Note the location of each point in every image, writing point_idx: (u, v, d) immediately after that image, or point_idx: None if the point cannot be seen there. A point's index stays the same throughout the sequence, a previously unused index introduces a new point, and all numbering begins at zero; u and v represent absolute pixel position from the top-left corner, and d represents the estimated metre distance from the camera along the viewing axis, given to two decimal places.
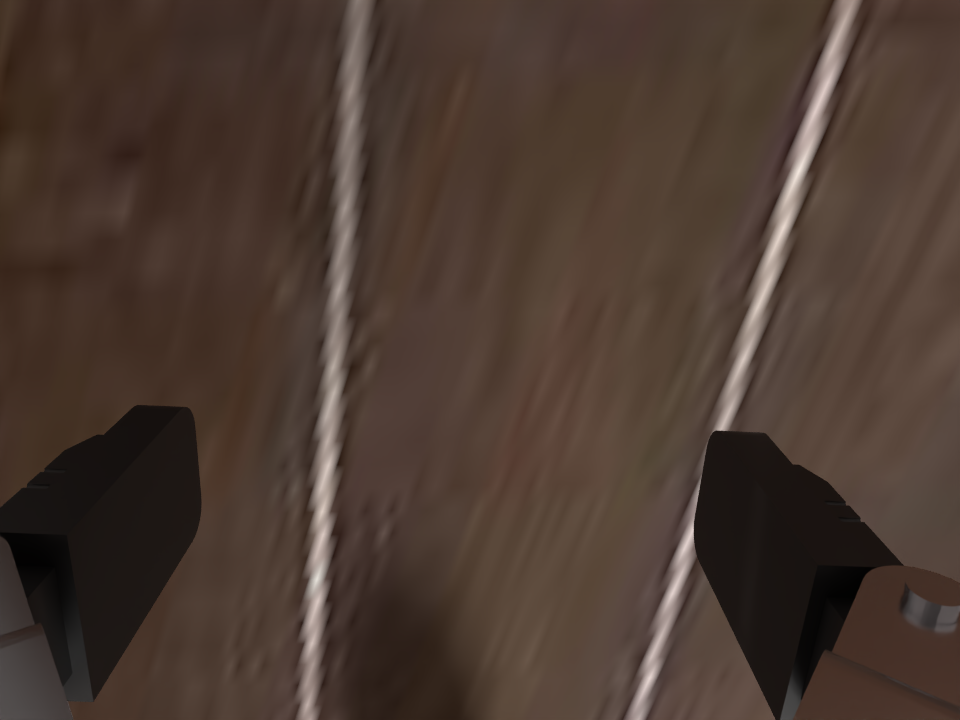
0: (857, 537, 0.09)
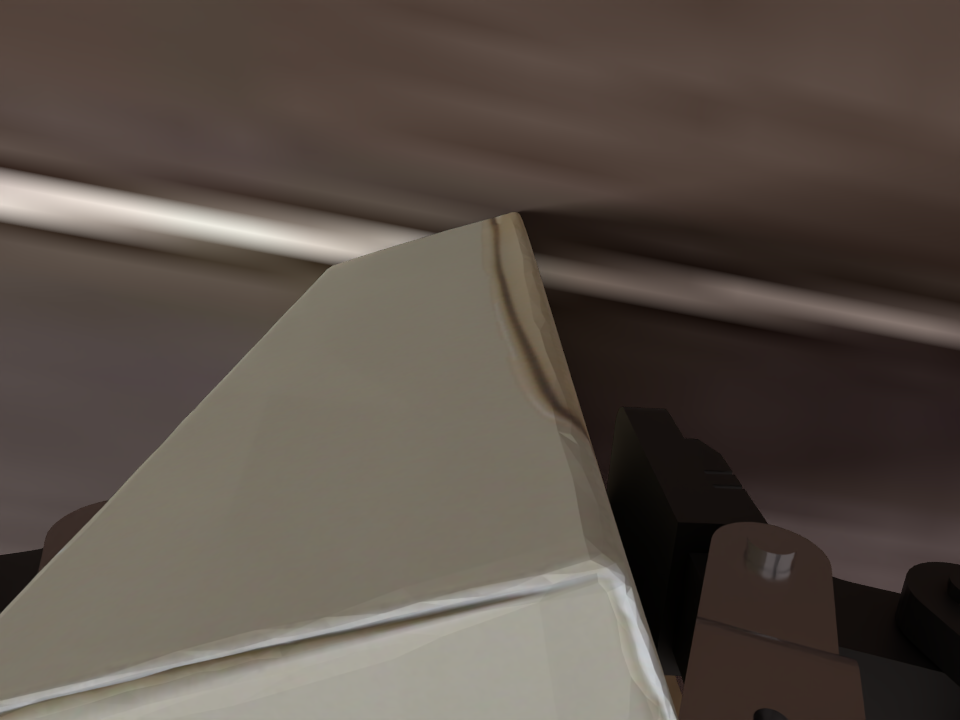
0: (733, 502, 0.10)
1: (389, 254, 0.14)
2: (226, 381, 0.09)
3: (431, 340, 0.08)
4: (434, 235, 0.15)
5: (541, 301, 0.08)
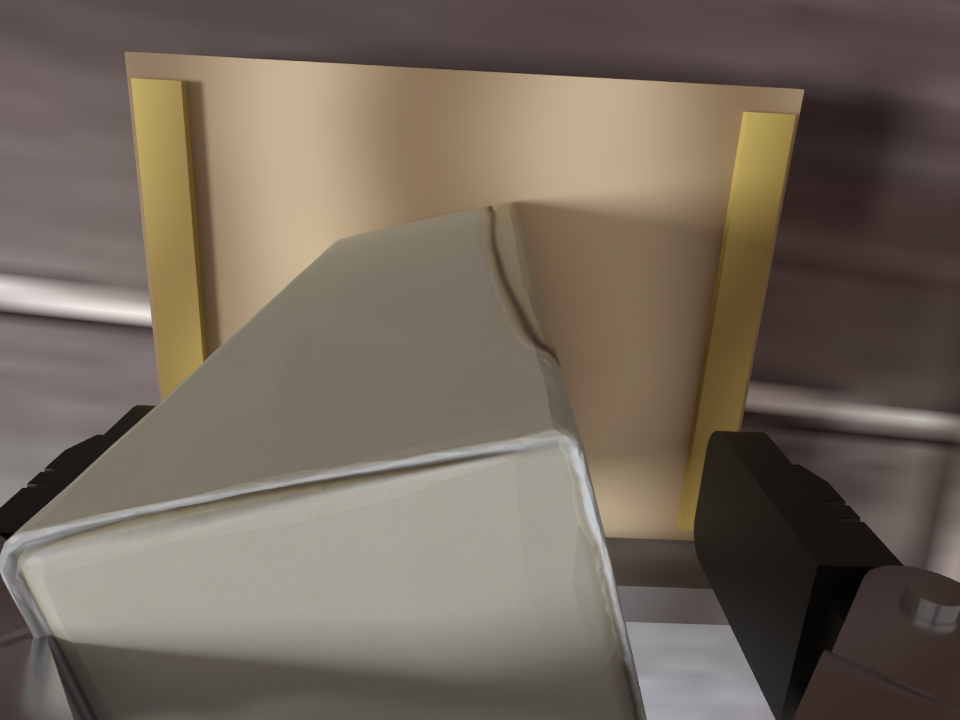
0: (857, 537, 0.09)
1: (393, 231, 0.15)
2: (250, 323, 0.10)
3: (434, 295, 0.09)
4: (435, 218, 0.16)
5: (530, 272, 0.10)
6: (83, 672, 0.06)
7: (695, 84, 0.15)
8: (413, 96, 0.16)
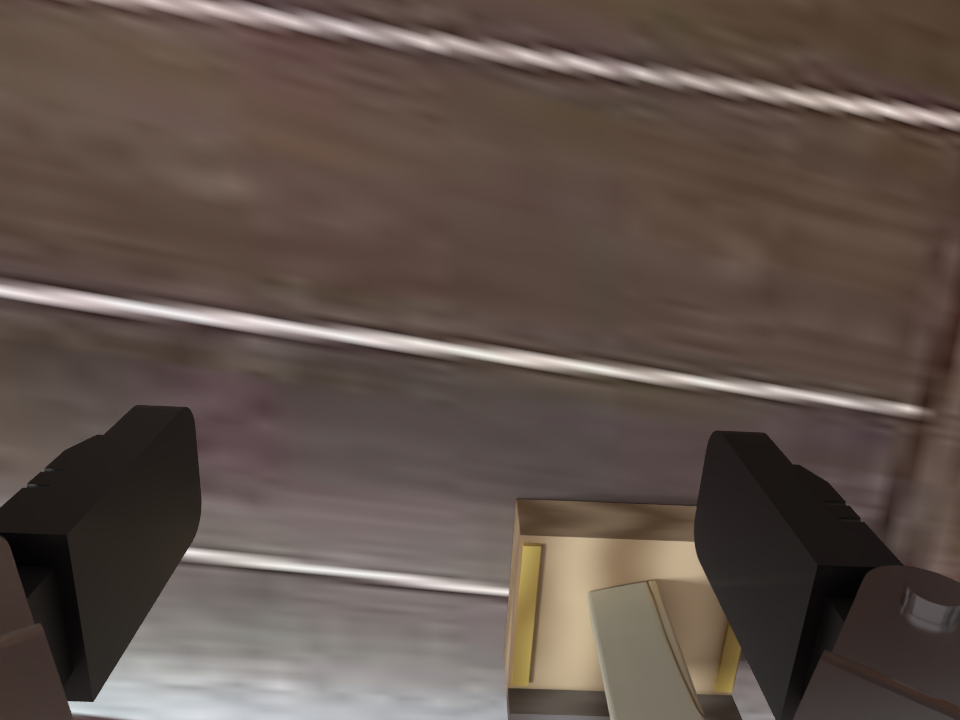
0: (857, 537, 0.09)
1: (615, 597, 0.43)
2: (608, 674, 0.37)
3: (663, 675, 0.36)
4: (627, 587, 0.43)
5: (685, 665, 0.37)
6: None
7: None
8: (621, 547, 0.43)
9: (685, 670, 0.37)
